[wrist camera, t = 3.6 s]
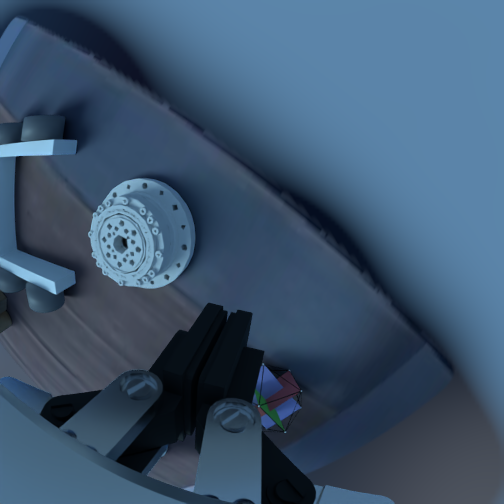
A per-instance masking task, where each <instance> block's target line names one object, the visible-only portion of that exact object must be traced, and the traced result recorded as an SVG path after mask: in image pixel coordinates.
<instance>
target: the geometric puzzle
mask: <svg viewBox="0 0 504 504" xmlns="http://www.w3.org/2000/svg"><path fill="white" fill-rule="evenodd" d="M268 366H269V365H268ZM272 367H273V366H272ZM267 368H269V367H267V366H266V365H265V364H264V363H263V365H262V366H261V369H260V373H259V377H258V381H257V385H256V389H255V393H254V397H253V401H252V405H254V406H255V407H256V408H257V409H258V411H259V413H260V415H261V420H262V425H263V427H264V428H266V430H267V429H268V428H270V427H272V426H273V425H275V424H277V425H278V426H279V427H280V428H281V429H282V430H283V431H280V432H284V433H286V431H285V430H284V428H283V425H282V423H281V420H283V419H285V418H286V417H288V416H289V415H291V414H292V415H293V413H294V412H296V411H297V410H299V409H301V408H302V407H301V405H300V406H299V405H298V403H297V402H298V401H299V398H298V396H297V398H298V400H297V402H296V401H295V400H294V399H293V398H292V397H293V396H295V395H297V394H298V393H299V392H301V393H300V394H302V390H301V389H300V387H299V386H298V384H297V382H296V381H295V379H294V377H293V376H292V374H291V372H290V370H286V369H285V370H271V369H270V368H269V369H270V370H268V369H267ZM276 368H277V367H276ZM280 369H282V368H280ZM270 371H273V372H274V371H288V372H286V373H285V374H283V375H282V376H280V375H279V376H280V377H279V378H277V379H276V378H275V377H274V376H273V375H272V373H271V372H270ZM274 373H276V372H274ZM276 374H277V373H276ZM277 375H278V374H277ZM299 397H300V395H299ZM299 404H300V402H299ZM298 412H299V411H298ZM297 414H298V413H297ZM291 417H292V416H291ZM295 417H296V416H295ZM290 420H291V418H290ZM293 420H294V419H293ZM289 422H290V421H289ZM291 423H292V422H291ZM288 425H289V423H288ZM289 426H290V425H289ZM287 427H288V426H287ZM287 429H288V428H286V430H287ZM268 430H271V429H268ZM274 431H277V430H274ZM264 432H271V431H264Z"/></svg>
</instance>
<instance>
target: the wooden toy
mask: <svg viewBox="0 0 504 504" xmlns="http://www.w3.org/2000/svg"><path fill="white" fill-rule="evenodd" d="M6 310H7V298H6V296H5V295H4V294H3V293H2V291H1V290H0V333H1V332H3V331H4V330H6V329H7V328H9V327H10V326H11V325H12V322H11V318H10V316H9V314H8V313H7V312H6Z"/></svg>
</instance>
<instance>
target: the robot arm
mask: <svg viewBox="0 0 504 504" xmlns="http://www.w3.org/2000/svg"><path fill="white" fill-rule="evenodd" d="M251 320H252V313H251V312H246V311H242V310H237V312H236V313H233V312H231V314H230V316H229V318H228V320H227V311H225V310H223V306H220V305H216V304H212V303H208V304H207V305H206V306H205V308H204V309H203V311H202V312H201V314H200V315H199V317H198V318H197V320H196V321H195V323H194V324H193V326H192V327H191V329H190V330H189V331H188V332H186V331H183V330H179V331H178V332H177V333H176V334H175V335H174V337H173V338H172V340H171V341H170V342H169V344H168V345H167V346H166V348H165V349H164V350H163V352H162V353H161V355H160V356H159V357H158V359H157V360H156V361H155V363H154V364H153V366H152V367H151V368H150V370H149V371H146V370H139V369H137V370H130V371H126V372H124V373H123V374H121V375H120V376H118V377H117V378H116V379H115V380H114V381H113V382H112V383H110V384H109V385H108V386H107V387H106V388H105V389H104V390H98V391H92V392H85V393H78V394H70V395H61V396H57V397H52V395H51V393H48V392H45V391H43V390H41V389H38V388H36V387H33V386H31V385H29V384H26V383H24V382H22V381H20V380H18V379H16V378H13V377H3V378H1V379H0V504H394V502H393V501H392V500H390V499H389V498H387V497H384V496H380V495H373V494H367V493H360V492H355V491H350V490H345V489H340V488H336V487H332V486H328V485H325V486H324V487H321V486H317V485H313V484H312V482H311V481H310V480H309V479H308V478H307V477H306V476H305V475H304V474H303V473H302V472H301V471H300V470H299V469H298V468H297V467H296V466H295V465H294V464H293V463H292V462H291V461H290V460H289V459H288V458H287V457H286V456H285V455H284V454H283V453H282V452H281V451H280V450H279V449H278V448H277V447H276V446H275V445H274V444H273V443H272V441H271V440H270V439H269V438H268V437H267V436H266V435H265V434H264V433H263V432H262V420H261V415H260V413H259V411H258V409H257V408H256V407H255V406H254V405H252V401H253V397H254V393H255V389H256V385H257V381H258V377H259V373H260V369H261V364H262V360H263V356H264V351H262V350H258V349H253V348H249V347H247V341H248V336H249V331H250V325H251ZM226 321H227V322H226ZM195 427H196V435H195V436H196V439H195V448H196V450H197V451H198V453H199V454H200V458H199V464H198V470H197V475H196V481H195V487H194V493H193V492H190V491H187V490H184V489H181V488H178V487H175V486H172V485H169V484H166V483H164V482H161V481H158V480H156V479H153V478H151V477H148V476H147V475H148V473H149V472H150V471H151V469H152V468H153V467H154V466H155V464H156V463H157V462H158V460H159V459H160V458H161V457H162V456H164V455H165V453H166V452H167V449H168V444H171V443H175V442H177V440H180V441H184V439H185V436H186V434H187V435H192V434H193V432H194V429H195Z"/></svg>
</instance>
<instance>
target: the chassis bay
mask: <svg viewBox="0 0 504 504" xmlns="http://www.w3.org/2000/svg"><path fill="white" fill-rule="evenodd" d="M65 119H66V117H64V116H58V115H35V116H28V117H25V118H24V122H23V123H2V124H0V290H1V291H2V292H5V293H14V292H18V291H21V290H23V289H24V288H26V292H27V297H28V302H29V306H30V308H31V309H32V310H33V311H36V312H41V313H47V312H52V311H55V310H57V309H59V308H60V307H62V306H63V304H64V302H65V299H64V292H63V290H65V289H67V288H68V287H70V286H72V285H74V284H75V283H76V281H75V271H72V270H69V269H67V268H64V267H61V266H58V265H56V264H53V263H50V262H48V261H45V260H42V259H40V258H37V257H34V256H32V255H29V254H27V253H24V252H22V251H19V250H17V243H16V231H15V210H14V183H15V162H16V156H31V155H67V154H76V147H77V140H63V132H64V125H65ZM25 141H30V142H25Z"/></svg>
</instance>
